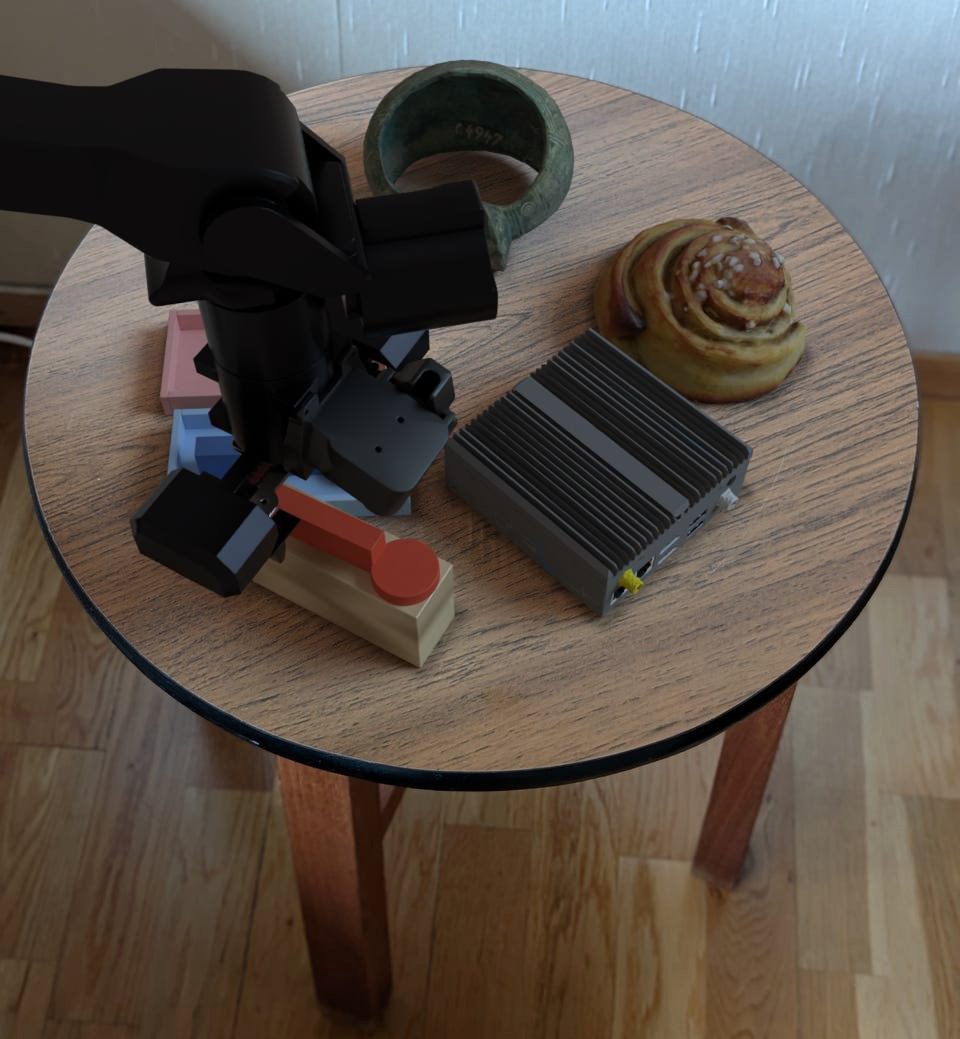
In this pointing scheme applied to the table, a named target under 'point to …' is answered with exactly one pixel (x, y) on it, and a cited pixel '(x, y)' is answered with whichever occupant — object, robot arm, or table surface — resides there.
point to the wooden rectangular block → (360, 598)
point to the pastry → (702, 309)
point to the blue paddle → (218, 455)
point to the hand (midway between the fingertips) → (306, 518)
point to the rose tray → (187, 365)
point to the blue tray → (198, 425)
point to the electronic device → (596, 469)
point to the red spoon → (365, 549)
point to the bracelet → (475, 138)
